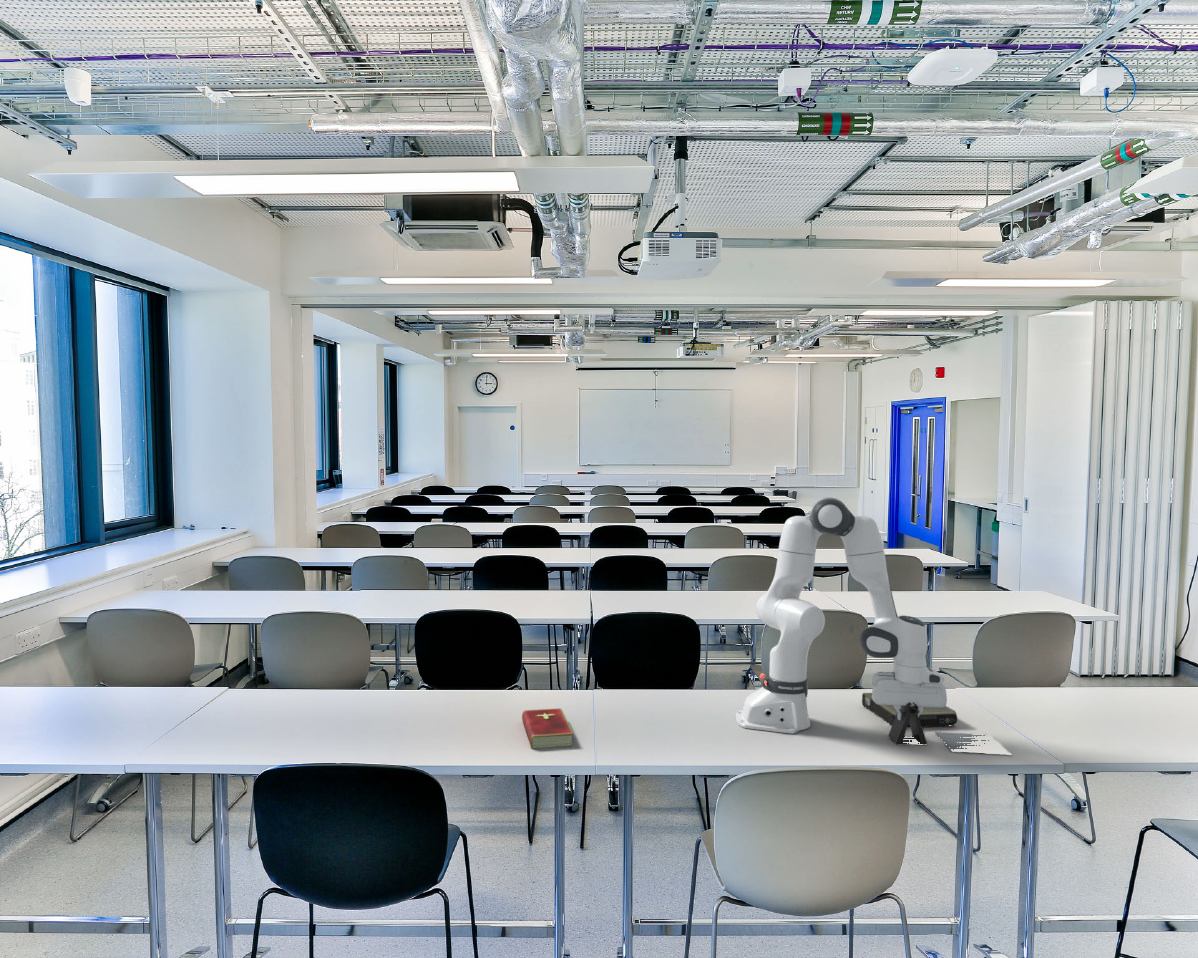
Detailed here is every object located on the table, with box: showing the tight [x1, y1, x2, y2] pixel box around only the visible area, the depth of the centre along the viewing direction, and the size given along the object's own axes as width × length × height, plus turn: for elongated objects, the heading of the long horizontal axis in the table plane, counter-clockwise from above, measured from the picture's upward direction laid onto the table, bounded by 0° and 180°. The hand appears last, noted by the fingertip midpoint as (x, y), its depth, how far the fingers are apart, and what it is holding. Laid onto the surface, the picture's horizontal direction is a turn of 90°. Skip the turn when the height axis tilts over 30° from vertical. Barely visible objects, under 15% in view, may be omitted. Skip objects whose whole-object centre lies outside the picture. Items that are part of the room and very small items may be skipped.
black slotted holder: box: [887, 702, 928, 745], centre depth 216 cm, size 9×6×12 cm, turn 89°
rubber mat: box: [934, 731, 989, 750], centre depth 215 cm, size 16×14×1 cm
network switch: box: [861, 692, 958, 728], centre depth 238 cm, size 23×23×5 cm
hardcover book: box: [521, 707, 574, 750], centre depth 218 cm, size 12×21×4 cm, turn 12°
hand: (908, 720), depth 216 cm, fingers closed on black slotted holder, 3 cm apart
